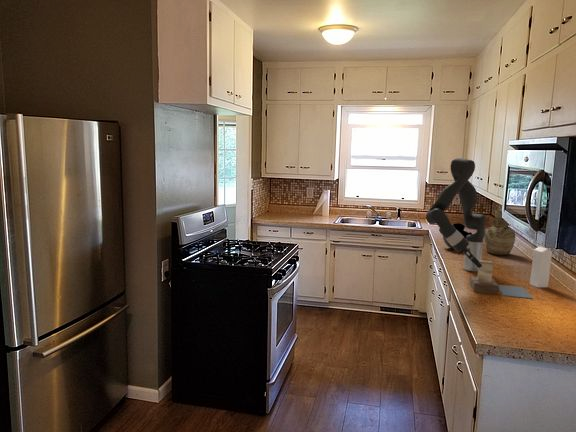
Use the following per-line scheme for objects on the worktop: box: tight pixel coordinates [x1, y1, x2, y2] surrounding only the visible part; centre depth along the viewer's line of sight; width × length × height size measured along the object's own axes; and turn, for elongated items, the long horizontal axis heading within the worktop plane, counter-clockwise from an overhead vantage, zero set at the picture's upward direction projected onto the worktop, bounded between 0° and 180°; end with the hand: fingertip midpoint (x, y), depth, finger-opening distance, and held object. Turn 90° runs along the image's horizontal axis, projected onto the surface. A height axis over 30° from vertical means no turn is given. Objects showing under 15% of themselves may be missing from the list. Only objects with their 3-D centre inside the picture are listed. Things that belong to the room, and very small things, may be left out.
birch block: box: [476, 259, 494, 283], centre depth 221 cm, size 4×6×10 cm, turn 76°
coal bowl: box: [442, 222, 473, 251], centre depth 314 cm, size 20×20×19 cm
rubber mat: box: [498, 284, 534, 300], centre depth 219 cm, size 18×13×1 cm
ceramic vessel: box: [483, 210, 516, 257], centre depth 305 cm, size 19×21×30 cm
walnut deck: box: [469, 275, 500, 295], centre depth 222 cm, size 15×11×4 cm
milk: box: [529, 245, 553, 288], centre depth 230 cm, size 6×6×22 cm
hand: (479, 265), depth 222 cm, fingers open, 8 cm apart
